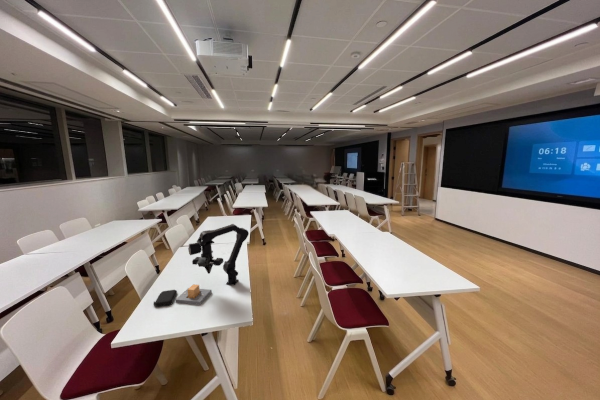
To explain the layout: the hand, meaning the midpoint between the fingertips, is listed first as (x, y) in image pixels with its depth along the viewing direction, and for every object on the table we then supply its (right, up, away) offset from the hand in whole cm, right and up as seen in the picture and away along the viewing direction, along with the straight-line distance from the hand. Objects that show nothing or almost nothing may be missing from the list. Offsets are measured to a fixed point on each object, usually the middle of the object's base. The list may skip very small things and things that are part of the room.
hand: (209, 273), depth 153 cm
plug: (-7, -13, -6) cm, 16 cm away
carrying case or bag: (-24, -14, -9) cm, 29 cm away
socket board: (-7, -13, -6) cm, 16 cm away
